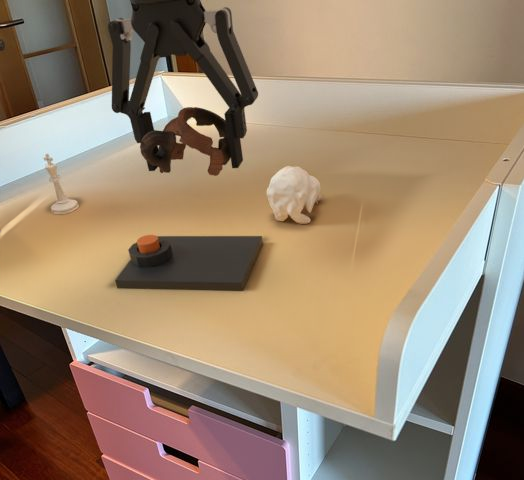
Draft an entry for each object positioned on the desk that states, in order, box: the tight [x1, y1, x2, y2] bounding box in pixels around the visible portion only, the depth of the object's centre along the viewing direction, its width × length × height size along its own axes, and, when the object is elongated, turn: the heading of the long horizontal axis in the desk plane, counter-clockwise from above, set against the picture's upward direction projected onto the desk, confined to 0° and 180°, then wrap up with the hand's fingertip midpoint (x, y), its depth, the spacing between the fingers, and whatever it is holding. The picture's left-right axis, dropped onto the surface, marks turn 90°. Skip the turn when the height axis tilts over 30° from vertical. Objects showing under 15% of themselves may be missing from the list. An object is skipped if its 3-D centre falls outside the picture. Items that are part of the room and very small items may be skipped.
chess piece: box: [43, 153, 80, 215], centre depth 100 cm, size 5×5×10 cm
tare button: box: [136, 234, 160, 253], centre depth 80 cm, size 3×3×2 cm
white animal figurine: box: [266, 165, 323, 225], centre depth 88 cm, size 6×8×12 cm
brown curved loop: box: [139, 106, 231, 177], centre depth 70 cm, size 12×10×8 cm
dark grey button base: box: [114, 235, 264, 292], centre depth 80 cm, size 18×13×3 cm
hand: (195, 165), depth 72 cm, fingers closed on brown curved loop, 10 cm apart
